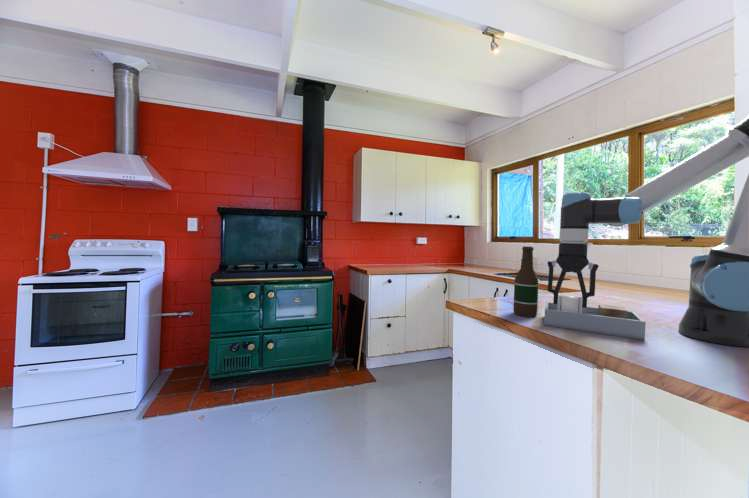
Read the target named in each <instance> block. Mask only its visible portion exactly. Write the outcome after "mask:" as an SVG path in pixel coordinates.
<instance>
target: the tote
mask: <svg viewBox="0 0 749 498" xmlns="http://www.w3.org/2000/svg"><path fill="white" fill-rule="evenodd" d="M544 305H545V306H544V317H543V318H544V321H543V326H545V327H553V328H557V329H558V328H559V329H567V330H572V331H580V332H586V333H593V334H601V335H606V336H613V337H620V338H627V339H633V340H639V341H640V340H641V341H646V339H645V337H646V321H645V320H644V319H643V318H642V317H641V316H640V315H639V314H638V313H637V312H635V311H631V310H627V319H623V318H615V317H607V316H599V315H598V309H599V307H595V306H587V307H586V308H582V313H574V312H566V311H558V310H557V304H554V303H553V302H552V301H551V302H549V301H546V302H545V304H544Z"/></svg>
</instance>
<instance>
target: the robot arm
mask: <svg viewBox="0 0 749 498" xmlns="http://www.w3.org/2000/svg"><path fill="white" fill-rule="evenodd" d="M746 158H749V115H747V117H746V118H744V119H743V120H741V121H740V122H739V123H737V124H736V125H733V126H732V127H730V128H729V129H727V131H726V133H725V136H723V137H721V138H720V139H717V140H716V141H714V142H713V143H711V144H709V145H707V146H706V147H705V148H703V149H701V150H699V151H697V152H696V153H694V154H692V155H691V156H689V157H687V158H686V159H684V160H683V161H681V162H679V163H677V164H676V165H674V166H672V167H670V168H669V169H667V170H665V171H664V172H662V173H660V174H658V175H657V176H655V177H653V178H652V179H650V180H648V181H647V182H645V183H643V184H642V185H640V186H637V187H636V188H634V189H633V190H632V191H630V192H628V193H627V194H625V195H623V196H622V197H608V198H592V196H591V193H590V192H586V191H583V192H582V191H579V192H578V191H575V192H567V193H565V194H564V195H563V196H562V198H561V205H560V206H561V207H560V221H559V237H558V238H559V240H558V241H560V242H561V243H559V244H558V256H557V257H556V259H555V260H548V261H547V267H548V282H547V292H548V293H551V294H553V301H552V303H554V304H557V310H558V311H560V301H561V295H562V294H560V290H561V288H562V285H563V283H564V279H565V277H566V275H567V273H575V274H576V275H577V280H578V284H579V289H580V292H581V296H580V295H579V296H578V297H579V313H582V308H586V307H588V306H587V305H588V298H591V297H595V293H596V276H597V275H596V274H597V271H598V269H599V265H598V263H593V262H591V261H589V259H588V247H589V246H588V244H587V243H588V242H589V230H590V229H589V227H590V226H589V225H590V224H592V225H593V224H594V225H595V224H602V225H604V224H605V225H609V226H612V227H622V226H625V225H630V224H639V223H640V222H641V220H642V215H643V214H645V213H647V212H648V211H650V210H652V209H654V208H656V207H657V206H660V205H661V204H663V203H665V202H667V201H668V200H671V199H672V198H674V197H676V196H678V195H680V194H682V193H683V192H685V191H687V190H689V189H690V188H694V187H695V186H697V185H698V184H700V183H702V182H704V181H706V180H708V179H709V178H711V177H713V176H715V175H717V174H719V173H721V172H723V171H724V170H726V169H728V168H729V167H732V166H733V165H735V164H737V163H739V162H741V161H743V160H744V159H746ZM725 232H726V233H725V235H724V237H723V239H722V243H721V244H719V245H717V246H715V247H712V248H710V250H709V253H708V254H697V255H694V256H693V257H692V258H691V262H690V264H689V267H690V280H689V291H688V292H689V294H688V295H689V297H688V307H687V309H686V311H685V313H684V315H683V316H682V318H681V320H680V322H679V323H678V333H679V334H682V335H683V336H687V337H690V338H693V339H697V340H701V341H705V342H708V343H709V342H710V343H713V344H714V343H715V344H721V345H725V346H726V345H727V346H732V347H733V346H735V347H741V348H742V347H743V348H749V173H748V174H747V176H746V179H745V183H744V184H743V188H742V190H741V193H740V196H739V198H738V201H737V203H736V206H735V208H734V212H733V214H732V216H731V219H730V221H729V224H728V227H727V230H726V231H725ZM556 265H558V266H559V267H560V269H561V271H560V273H559V276H558V279H557V282H556V285H555V288H553V284H554V283H553V281H554V268H555V267H556ZM587 266H588V270H589V285H588V286H589V287H588V288H589V289H588V290H589V291H588V292H587V288H586V285H585V281H584V277H583V272H582V271H583V270H584V269H585V268H586V267H587Z"/></svg>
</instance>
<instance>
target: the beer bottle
mask: <svg viewBox="0 0 749 498" xmlns="http://www.w3.org/2000/svg"><path fill="white" fill-rule="evenodd" d="M521 250H522V255H521V265H520V269H519V271H518V272H517V273H516V275H515V278H514V290H513V314H514V315H516V316H518V317H524V318H536V316H537V315H538V307H539V306H538V303H539V302H538V301H539V278H538V274H537V272H536V271H535V270H534V256H533V255H534V247H533V246H523V247H522V249H521Z"/></svg>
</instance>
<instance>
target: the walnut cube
mask: <svg viewBox="0 0 749 498" xmlns="http://www.w3.org/2000/svg"><path fill="white" fill-rule="evenodd" d="M598 308H599V309H598V315H599V316H607V317H615V318H623V319H627V311H628V309H626V308H625V307H624V306H620V305H619V306H618V305H610V304H609V305H608V304H600V303H598Z"/></svg>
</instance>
